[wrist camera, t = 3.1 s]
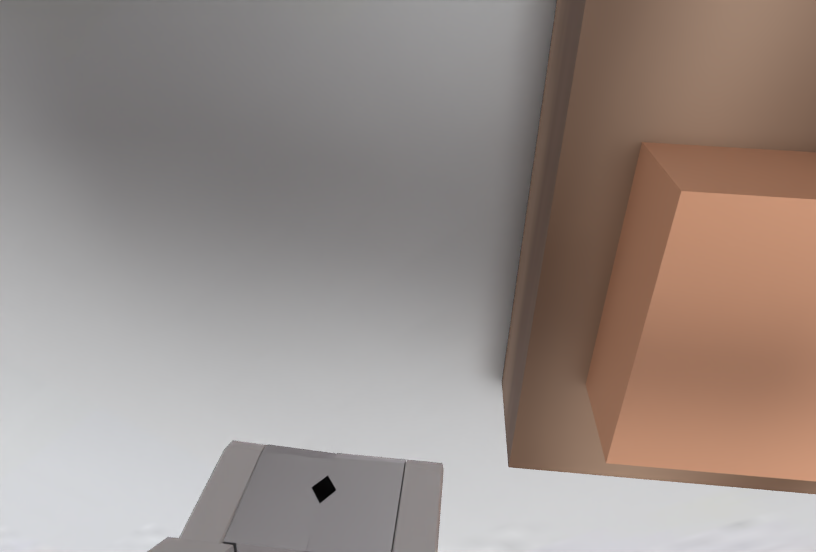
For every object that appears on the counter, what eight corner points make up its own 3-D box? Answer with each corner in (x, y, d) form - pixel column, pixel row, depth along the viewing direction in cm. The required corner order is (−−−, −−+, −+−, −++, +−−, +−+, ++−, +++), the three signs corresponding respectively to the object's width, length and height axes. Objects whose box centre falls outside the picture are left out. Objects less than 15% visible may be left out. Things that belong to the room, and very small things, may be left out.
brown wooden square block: (501, 382, 19) (508, 467, 16) (563, -46, 13) (591, -37, 10) (895, 413, 19) (978, 508, 16) (1146, -21, 13) (1357, -3, 10)
